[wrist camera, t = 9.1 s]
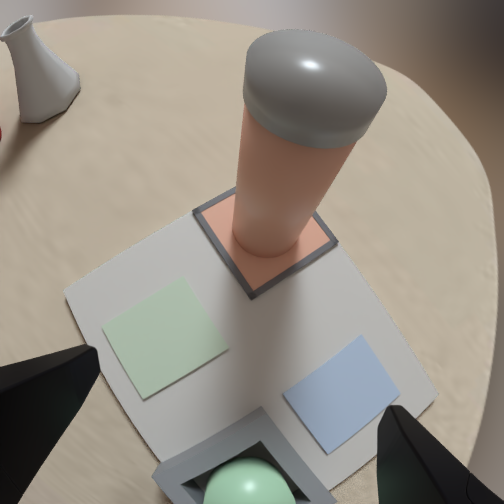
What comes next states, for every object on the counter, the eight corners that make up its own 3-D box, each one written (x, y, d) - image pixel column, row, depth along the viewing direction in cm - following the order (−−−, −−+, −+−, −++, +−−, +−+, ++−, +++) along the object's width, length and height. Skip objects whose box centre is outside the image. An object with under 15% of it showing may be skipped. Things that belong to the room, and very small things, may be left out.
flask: (73, 116, 23) (34, 33, 14) (13, 133, 22) (-33, 65, 13) (89, 68, 25) (64, -6, 16) (34, 84, 24) (2, 20, 15)
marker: (246, 269, 19) (286, 127, 7) (221, 206, 20) (226, 35, 8) (311, 245, 20) (412, 108, 8) (283, 187, 21) (340, 28, 9)
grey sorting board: (232, 539, 14) (234, 562, 11) (65, 292, 18) (43, 282, 15) (434, 393, 18) (460, 395, 15) (276, 169, 22) (283, 144, 19)
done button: (235, 528, 13) (237, 554, 10) (190, 479, 14) (184, 500, 11) (299, 494, 14) (312, 515, 11) (256, 442, 15) (262, 458, 12)
